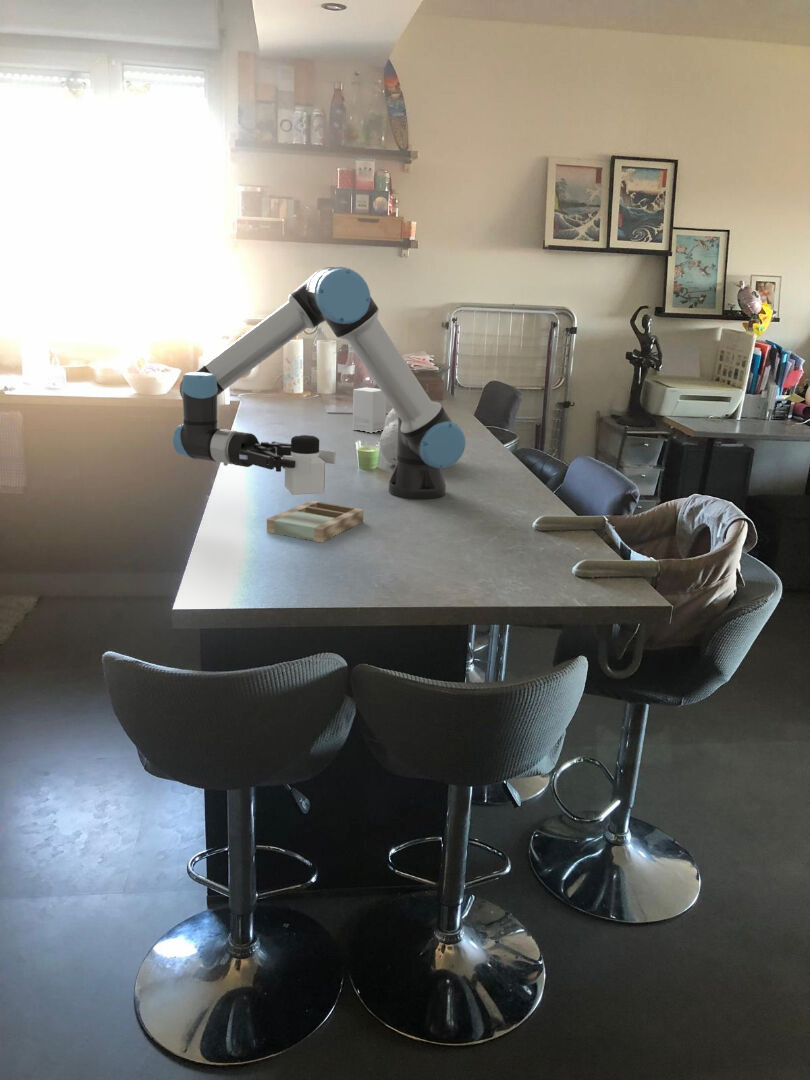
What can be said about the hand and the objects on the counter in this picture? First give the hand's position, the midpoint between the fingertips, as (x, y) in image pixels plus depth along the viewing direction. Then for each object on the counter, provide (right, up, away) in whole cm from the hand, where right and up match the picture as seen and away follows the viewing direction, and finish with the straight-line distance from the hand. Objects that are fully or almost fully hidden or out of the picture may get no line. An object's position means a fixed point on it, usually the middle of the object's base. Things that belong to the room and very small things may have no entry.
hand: (322, 461), depth 186 cm
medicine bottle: (-4, -6, +4) cm, 8 cm away
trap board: (-3, -14, +11) cm, 18 cm away
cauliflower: (+19, +7, +81) cm, 84 cm away
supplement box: (+4, +23, +130) cm, 132 cm away
